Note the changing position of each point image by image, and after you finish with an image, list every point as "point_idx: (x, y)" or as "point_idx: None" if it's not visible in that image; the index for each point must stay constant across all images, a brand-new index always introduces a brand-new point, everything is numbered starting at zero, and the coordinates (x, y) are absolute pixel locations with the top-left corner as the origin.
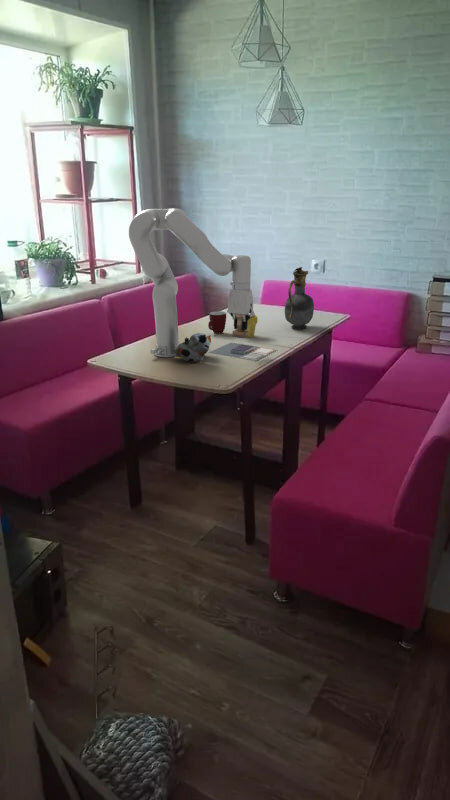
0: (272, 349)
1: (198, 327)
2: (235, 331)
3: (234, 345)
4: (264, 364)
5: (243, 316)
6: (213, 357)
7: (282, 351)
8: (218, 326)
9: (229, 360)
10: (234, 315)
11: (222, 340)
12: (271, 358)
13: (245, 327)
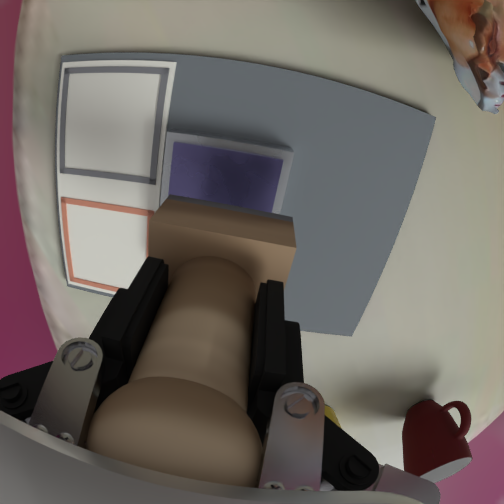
0: (80, 278)
1: (475, 418)
2: (250, 238)
3: (318, 298)
4: (20, 51)
5: (70, 413)
6: (373, 45)
7: (52, 283)
8: (429, 425)
9: (235, 9)
10: (286, 452)
11: (400, 357)
12: (29, 159)
13: (116, 292)
